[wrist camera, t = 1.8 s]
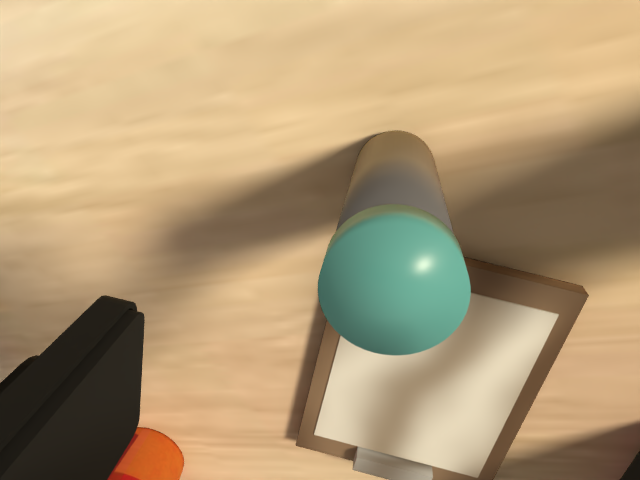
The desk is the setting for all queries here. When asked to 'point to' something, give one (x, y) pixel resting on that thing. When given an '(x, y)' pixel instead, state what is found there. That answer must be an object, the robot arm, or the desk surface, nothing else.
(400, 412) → the clipboard
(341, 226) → the marker
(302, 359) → the desk surface
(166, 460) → the paper cup
